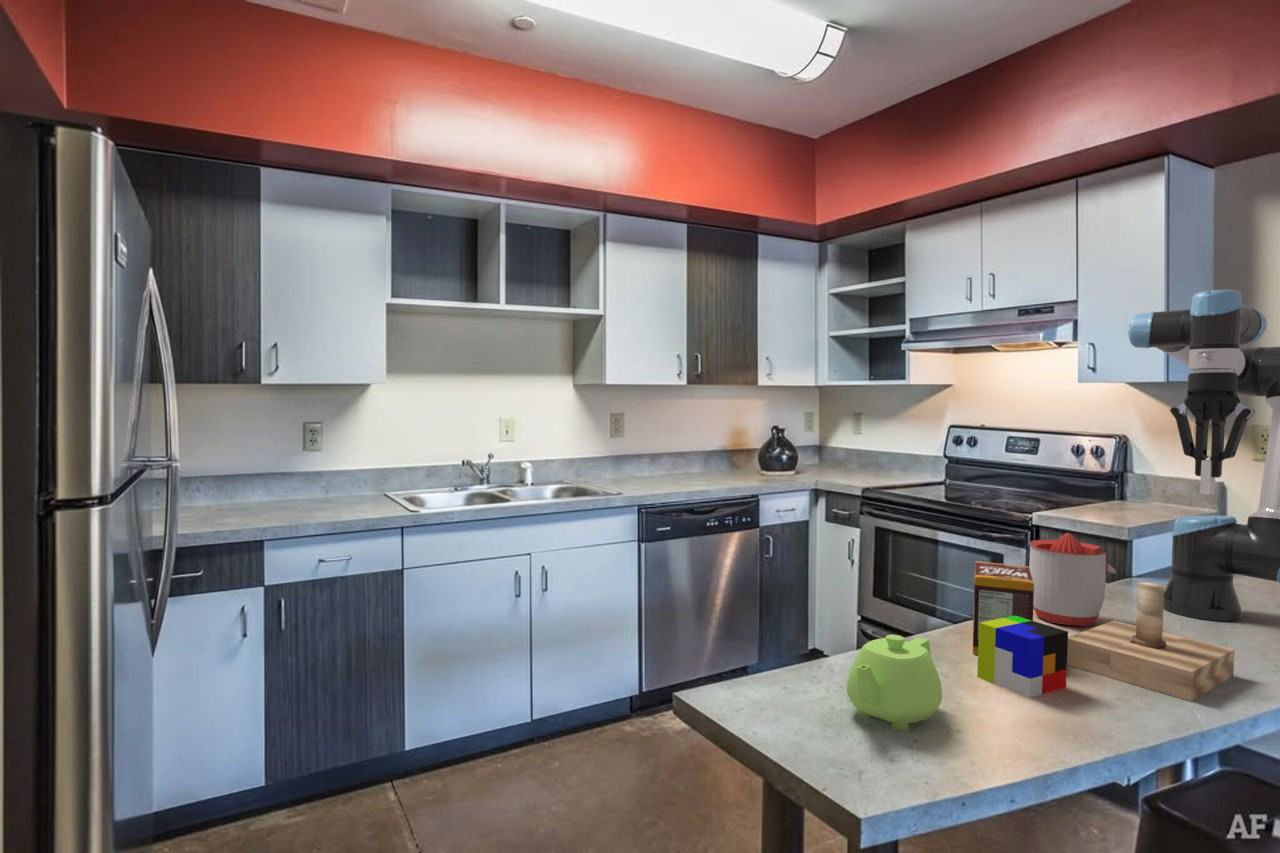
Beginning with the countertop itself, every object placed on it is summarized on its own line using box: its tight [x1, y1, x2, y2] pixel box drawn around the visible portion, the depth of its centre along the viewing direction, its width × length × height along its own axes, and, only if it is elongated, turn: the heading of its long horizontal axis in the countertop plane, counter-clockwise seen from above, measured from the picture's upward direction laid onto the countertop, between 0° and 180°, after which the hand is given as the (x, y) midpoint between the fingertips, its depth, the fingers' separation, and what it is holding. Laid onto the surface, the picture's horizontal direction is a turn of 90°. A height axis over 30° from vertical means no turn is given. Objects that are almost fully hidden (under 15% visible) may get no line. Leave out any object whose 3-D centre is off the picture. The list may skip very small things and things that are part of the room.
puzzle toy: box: [976, 616, 1069, 699], centre depth 128 cm, size 10×10×10 cm
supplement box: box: [972, 560, 1034, 656], centre depth 146 cm, size 10×15×16 cm
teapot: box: [846, 634, 943, 733], centre depth 113 cm, size 20×13×13 cm
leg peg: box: [1132, 581, 1166, 649], centre depth 134 cm, size 5×5×16 cm
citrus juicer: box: [1028, 532, 1117, 628], centre depth 164 cm, size 16×17×20 cm
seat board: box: [1067, 620, 1236, 702], centre depth 134 cm, size 20×20×5 cm
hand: (1207, 493), depth 140 cm, fingers closed
